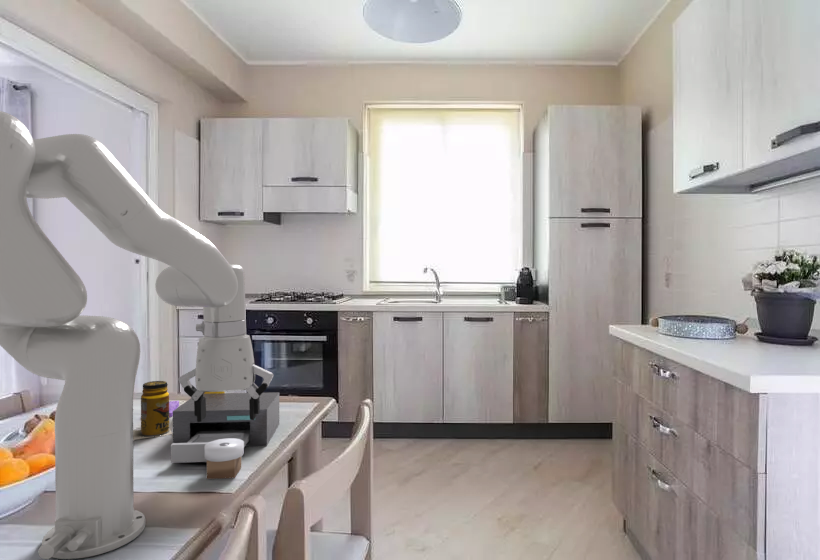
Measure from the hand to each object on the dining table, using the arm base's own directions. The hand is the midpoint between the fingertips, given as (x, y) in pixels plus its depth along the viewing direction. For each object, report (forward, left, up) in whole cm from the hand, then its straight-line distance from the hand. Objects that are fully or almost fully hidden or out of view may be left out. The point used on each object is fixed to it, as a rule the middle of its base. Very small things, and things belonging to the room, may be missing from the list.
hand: (227, 418), depth 96 cm
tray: (+11, +5, -9) cm, 15 cm away
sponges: (+44, +29, -11) cm, 54 cm away
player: (+22, +5, -10) cm, 25 cm away
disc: (-1, 0, -7) cm, 7 cm away
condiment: (+25, +24, -10) cm, 37 cm away
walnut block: (-1, 0, -10) cm, 10 cm away
